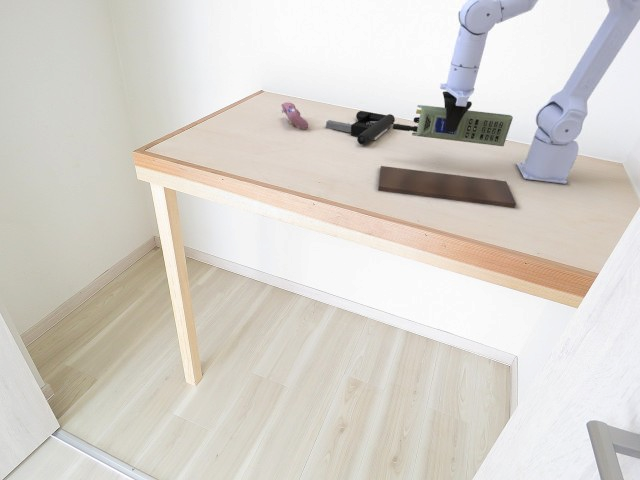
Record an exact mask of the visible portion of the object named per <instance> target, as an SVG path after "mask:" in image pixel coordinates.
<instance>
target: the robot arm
mask: <svg viewBox="0 0 640 480" xmlns="http://www.w3.org/2000/svg"><path fill="white" fill-rule="evenodd" d="M538 2H539V0H466V1H465V3H464V4H463V5H462V6H461V9H460V10H459V11H458V13H457V14H458V15H457V17H458V22H459V24H460V25H459V28H458V32H457V37H456V39H455V44H454V48H453V52H452V57H451V61H450V66H449V71H448V75H447V78H446V82H445V83H440V84H439V88H440V90H445V91H442V96H443V102H444V103H443V104H444V108H446V121H445V131H448V132H455V131H456V129H457V127H458V125H459V123H460V121H461V119H462V117H463V116H464V114H465V113H466V112H467V110H470V109H471V107H472V105H473V102H472V101H469V99H470V97H471V96H472V95H473V94H474V92H475V84H476V81H477V77H478V73H479V70H480V66H481V62H482V58H483V56H484V55H483V54H484V51H485V47H486V43H487V38H488V34H489V32H490V31H492V29H493V28H494V26H495V25H496V24H498V25H499V24H501V23H503V22H505V21H509V20H510V19H513V18H516V17H518V16H520V15H523V14H526V13H528V12H530V11H532V10H534V7H535V6H536V5H537V3H538ZM606 3H607V6H608V10H609V11H608V13H607V15H606V16H605V18H604V19H603V21H602V23H601V25H600V26H599V28H598V30H597V32H596V33H595V34H594V36H593V38H592V40H591V41H590V42H589V44H588V46H587V48H586V50H585V51H584V52H583V54H582V56H581V58H580V59H579V61H578V62H577V64H576V66H575V68H574V69H573V71H572V73H571V74H570V76H569V77H568V80H567V81H566V82H565V84H564V86H563V88H562V89H561V90H559V91H558V92H556V93H554V94H552V96H551V97H550V98H549V100H548V101H547V103H546V104H544V105H543V106H542V107H540V108H539V110H538V111H537V113H536V115H535V124H536V126H537V128H536V130H535V133H534V136H533V138H532V141H531V143H530V146H529V149H528V151H527V154H526V157H525V158H524V161H523V162H517V163H516V166H517V168H518V169H519V171H520V173H521V175H522V177H523V179H525V180H529V181H537V182H538V181H539V182H547V183H548V182H549V183H556V184H564V185H566V184H567V183H568V181H567V179H568V178H569V175H570V174H571V170H572V168H573V166H574V165H575V162H576V160H577V157H578V154H579V144H578V141H575V139H577V138H578V137H579V135H580V134H581V132H582V130H583V125H584V121H585V120H586V117H587V116H588V100H589V99H590V97H591V95H592V94H593V92H594V91H595V89H597V86H598V85H599V83H600V82H601V80H602V78H603V77H604V75H605V74H606V72H607V71H608V70H609V68H610V67H611V65H612V64H613V62H614V60H615V58H616V57H617V56H618V54H619V53H620V51H621V49H622V48H623V46H624V45H625V43H626V42H627V40H628V39H629V37H630V36H631V34H632V32H633V31H634V30H635V28H636V26H637V25H638V23H639V21H640V0H606Z"/></svg>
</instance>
